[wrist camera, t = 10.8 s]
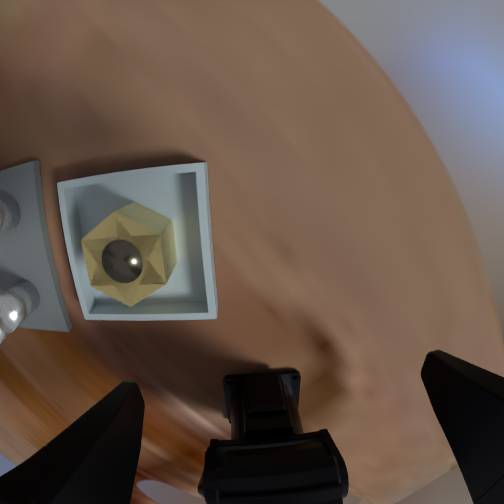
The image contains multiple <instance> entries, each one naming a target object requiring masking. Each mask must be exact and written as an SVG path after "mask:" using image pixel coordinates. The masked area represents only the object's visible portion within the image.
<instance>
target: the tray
mask: <svg viewBox="0 0 504 504" xmlns="http://www.w3.org/2000/svg"><path fill="white" fill-rule="evenodd" d="M57 187H58V196H59V204H60V211H61V218H62V224H63V230H64V236H65V241H66V247H67V252H68V256H69V261H70V266H71V270H72V274H73V278H74V282H75V286H76V290H77V294H78V297H79V301H80V305H81V308H82V311H83V315H84V318H85V320H133V321H145V320H198V319H217V311H218V299H217V289H216V278H215V267H214V255H213V243H212V230H211V217H210V202H209V187H208V170H207V162H202V163H190V164H179V165H169V166H159V167H151V168H143V169H135V170H127V171H120V172H114V173H107V174H101V175H95V176H89V177H83V178H78V179H73V180H68V181H63V182H58V183H57ZM133 202H137V203H139V204H141V205H143V206H145V207H147V208H149V209H151V210H153V211H155V212H157V213H159V214H161V215H163V216H165V217H167V218H170V219H172V220H173V227H174V237H175V246H176V255H177V264H176V266H175V268H174V270H173V272H172V274H171V276H170V278H169V280H168V282H167V284H166V285H164V286H163V287H161V288H159V289H158V290H156V291H155V292H153V293H152V294H150V295H149V296H147V297H146V298H144V299H143V300H141V301H139V302H138V303H136V304H135V305H133V306H132V307H130V306H128V305H126V304H124V303H122V302H120V301H118V300H116V299H114V298H112V297H110V296H108V295H106V294H105V293H103V292H101V291H99V290H97V289H95V288H93V287H92V286H90V282H89V277H88V273H87V268H86V264H85V259H84V254H83V249H82V243H81V240H82V239H83V238H84V237H85V236H86V235H87V234H88V233H90V232H91V231H92V230H93V229H94V228H95V227H96V226H98V225H99V224H100V223H101V222H102V221H103V220H105V219H106V218H107V217H108V216H109V215H111V214H112V213H113V212H114V211H116V210H118V209H120V208H122V207H124V206H126V205H128V204H130V203H133Z"/></svg>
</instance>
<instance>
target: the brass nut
mask: <svg viewBox="0 0 504 504" xmlns="http://www.w3.org/2000/svg"><path fill="white" fill-rule="evenodd" d="M81 243H82V249H83V254H84V259H85V264H86V268H87V273H88V277H89V282H90V286H92V287H93V288H95V289H97V290H99V291H101V292H103V293H105V294H106V295H108V296H110V297H112V298H114V299H116V300H118V301H120V302H122V303H124V304H126V305H128V306H130V307H132V306H133V305H135V304H136V303H138V302H139V301H141V300H143V299H144V298H146V297H147V296H149V295H150V294H152V293H153V292H155V291H156V290H158V289H159V288H161V287H163V286H164V285H166V284H167V282H168V280H169V278H170V276H171V274H172V272H173V270H174V268H175V266H176V264H177V255H176V246H175V237H174V227H173V220H172V219H170V218H167V217H165V216H163V215H161V214H159V213H157V212H155V211H153V210H151V209H149V208H147V207H145V206H143V205H141V204H139V203H137V202H133V203H130V204H128V205H126V206H124V207H122V208H120V209H118V210H116V211H114V212H113V213H112V214H111V215H109V216H108V217H107V218H106V219H105V220H103V221H102V222H101V223H100V224H99V225H98V226H96V227H95V228H94V229H93V230H92V231H91V232H90V233H88V234H87V235H86V236H85V237H84V238H83V239H82V240H81Z"/></svg>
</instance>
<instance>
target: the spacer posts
mask: <svg viewBox="0 0 504 504" xmlns="http://www.w3.org/2000/svg"><path fill="white" fill-rule="evenodd" d="M20 215H21V214H20V207H19V204H18V202H17V200H16V199H15V198H14V197H13V196H12V195H5V196H2V197H0V235H1V234H3V233H6V232H8V231H10V230H12V229H14V228H16V227H17V226H18V224H19V221H20ZM39 304H40V296H39V293H38V291H37V289H36V287H35V286H34V285H33V284H32V283H31V282H30V281H28V280H26V279H22V280H20V281H19V282H17V283H16V284H14V285H13V286H12V287H10V288H9V289H8V290H6V291H5V292H4V293H2V294H1V295H0V344H1V343H2V342H3V341H4V340H5V339H6V338H7V337H8V335H9V334H10V333H11V332H13V331H14V330H15V329H16V328H17V327H18V326H19V325H20V324H21V323H22V322H23V321H24V320H25V319H26V318H27V317H28V316H29V315H30V314H31V313H32V312H33V311H34V310H36V309H37V308H38V306H39Z"/></svg>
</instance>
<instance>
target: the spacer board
mask: <svg viewBox="0 0 504 504" xmlns="http://www.w3.org/2000/svg"><path fill="white" fill-rule="evenodd" d="M5 195H12V196H13V197H14V198H15V199H16V200H17V202H18V204H19V207H20V214H21V215H20V221H19V224H18V226H17V227H16V228H14V229H12V230H10V231H8V232H6V233H3V234H1V235H0V295H1V294H2V293H4V292H5V291H6V290H8V289H9V288H10V287H12V286H13V285H14V284H16V283H17V282H19V281H20V280H22V279H26V280H28V281H30V282H31V283H32V284H33V285H34V286H35V287H36V289H37V291H38V293H39V296H40V304H39V306H38V308H37V309H36V310H34V311H33V312H32V313H31V314H30V315H29V316H28V317H27V318H26V319H25V320H24V321H23V322H22V323H21V324H20V325H19V326H18V327H20V328H29V329H39V330H50V331H62V332H69V331H70V330H71V329H72V324H71V321H70V318H69V314H68V311H67V308H66V305H65V301H64V298H63V295H62V291H61V287H60V284H59V280H58V276H57V272H56V268H55V264H54V259H53V255H52V250H51V245H50V240H49V235H48V229H47V223H46V217H45V210H44V203H43V195H42V186H41V176H40V163H39V160H36V161H31V162H27V163H24V164H21V165H18V166H14V167H11V168H8V169H5V170H2V171H0V197H2V196H5Z"/></svg>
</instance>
